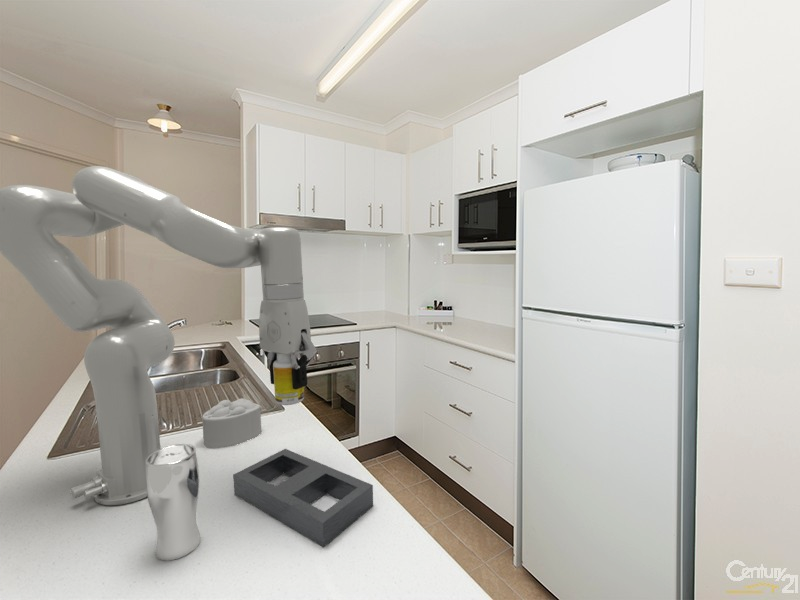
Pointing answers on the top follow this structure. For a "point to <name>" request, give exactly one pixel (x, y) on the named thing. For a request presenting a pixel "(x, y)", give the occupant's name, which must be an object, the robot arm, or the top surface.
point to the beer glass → (174, 499)
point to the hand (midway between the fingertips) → (288, 383)
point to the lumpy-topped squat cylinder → (231, 423)
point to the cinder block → (304, 494)
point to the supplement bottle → (285, 381)
